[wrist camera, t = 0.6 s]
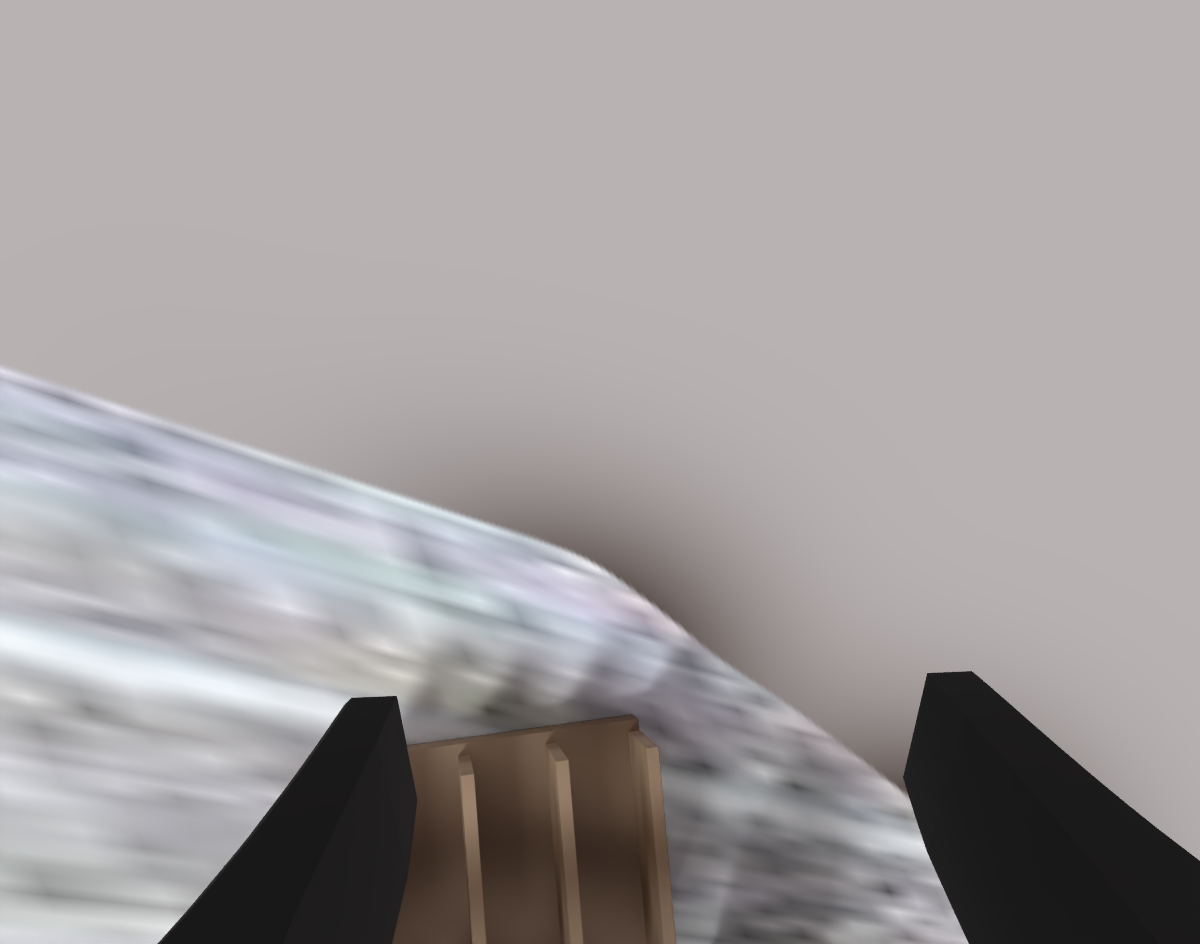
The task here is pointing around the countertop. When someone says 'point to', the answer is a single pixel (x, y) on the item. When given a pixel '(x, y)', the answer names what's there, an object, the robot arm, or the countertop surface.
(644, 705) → the countertop surface
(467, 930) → the rack
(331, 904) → the robot arm
